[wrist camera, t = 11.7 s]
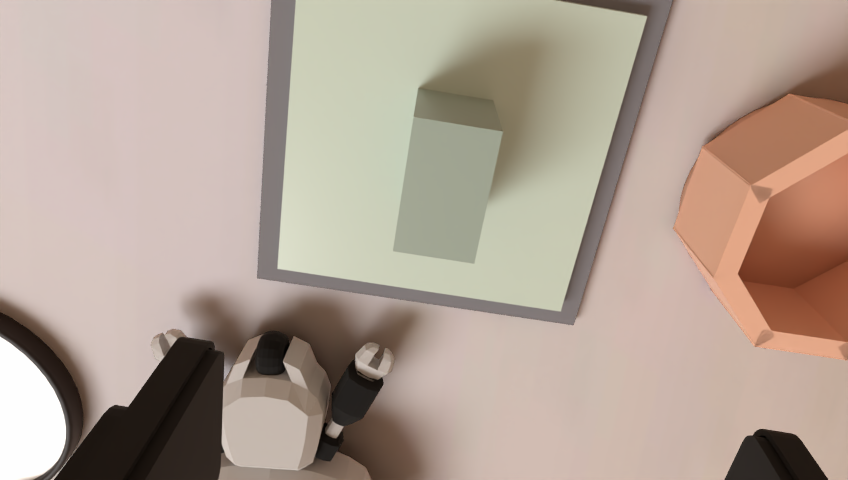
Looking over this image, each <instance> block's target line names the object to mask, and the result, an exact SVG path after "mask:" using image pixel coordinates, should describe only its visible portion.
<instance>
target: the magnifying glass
mask: <svg viewBox="0 0 848 480" xmlns="http://www.w3.org/2000/svg"><path fill="white" fill-rule="evenodd" d="M82 427H83V409H82V403H81V399H80V396H79V393H78V390H77V387H76V385H75V383H74V381H73V379H72V377H71V375H70V374H69V372H68V370H67V369H66V367H65V366H64V364H63V363H62V362H61V360H60V359H59V358H58V357H57V356H56V354H55V353H54V352H53V351H52V350H51V349H50V348H49V347H48V346H47V345H46V344H45V343H44V342H43V341H42V340H41V339H40V338H39V337H37V336H36V335H35V334H34V333H32V332H31V331H30V330H29V329H27V328H26V327H24V326H23V325H21V324H20V323H18V322H17V321H15V320H14V319H12V318H10V317H8V316H6V315H5V314H3V313H1V312H0V480H50V479H52V478H53V477H54V476H55V474H56V473H57V472H58V471H59V470H60V469H61V468H62V467H63V465H64V464H65V463H66V461H67V460H68V458H69V457H70V456H71V454H72V453H73V451H74V450H75V448H76V446H77V444H78V442H79V439H80V437H81V433H82Z"/></svg>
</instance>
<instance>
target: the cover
mask: <svg viewBox="0 0 848 480" xmlns="http://www.w3.org/2000/svg"><path fill="white" fill-rule="evenodd" d="M646 19H647V16H645V15H643V14H637V13H631V12H625V11H620V10H614V9H608V8H602V7H596V6H591V5H585V4H579V3H573V2H568V1H562V0H296V4H295V19H294V34H293V48H292V63H291V77H290V92H289V107H288V121H287V136H286V151H285V165H284V180H283V194H282V209H281V224H280V238H279V253H278V268H277V269H282V270H289V271H296V272H302V273H309V274H315V275H322V276H329V277H335V278H342V279H349V280H355V281H362V282H368V283H375V284H382V285H388V286H395V287H401V288H408V289H415V290H421V291H428V292H434V293H441V294H448V295H454V296H461V297H467V298H474V299H481V300H487V301H494V302H501V303H507V304H514V305H520V306H527V307H534V308H540V309H547V310H553V311H560V312H561V309H562V305H563V302H564V298H565V295H566V292H567V288H568V285H569V281H570V278H571V275H572V271H573V268H574V264H575V261H576V258H577V254H578V251H579V247H580V244H581V241H582V237H583V234H584V230H585V227H586V224H587V220H588V217H589V213H590V210H591V207H592V203H593V200H594V196H595V193H596V189H597V186H598V183H599V179H600V176H601V172H602V169H603V166H604V162H605V159H606V155H607V152H608V149H609V145H610V142H611V138H612V135H613V132H614V128H615V125H616V121H617V118H618V115H619V111H620V108H621V104H622V101H623V98H624V94H625V91H626V87H627V84H628V80H629V77H630V74H631V70H632V67H633V63H634V60H635V57H636V53H637V50H638V46H639V43H640V40H641V36H642V33H643V29H644V26H645V23H646Z"/></svg>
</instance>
